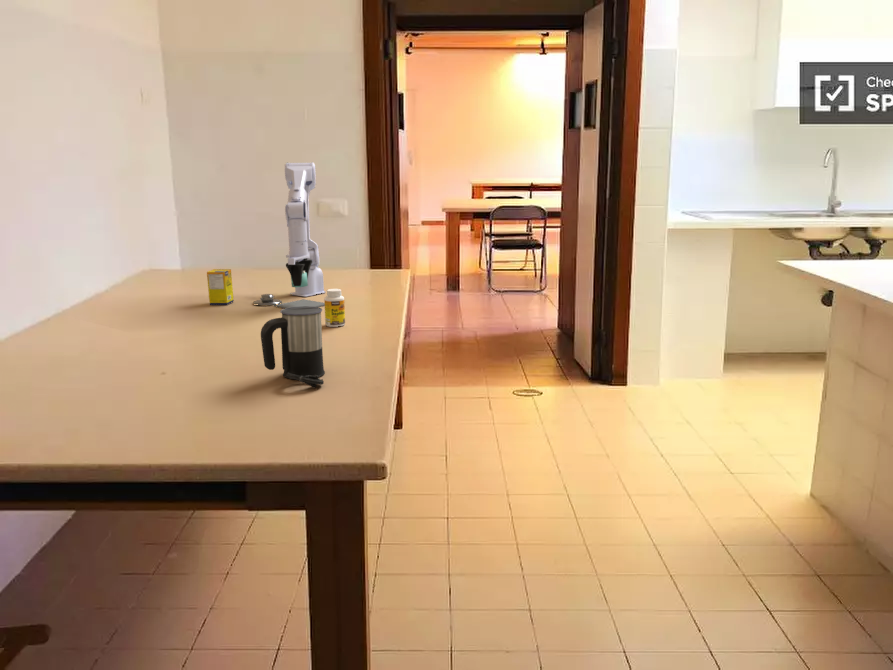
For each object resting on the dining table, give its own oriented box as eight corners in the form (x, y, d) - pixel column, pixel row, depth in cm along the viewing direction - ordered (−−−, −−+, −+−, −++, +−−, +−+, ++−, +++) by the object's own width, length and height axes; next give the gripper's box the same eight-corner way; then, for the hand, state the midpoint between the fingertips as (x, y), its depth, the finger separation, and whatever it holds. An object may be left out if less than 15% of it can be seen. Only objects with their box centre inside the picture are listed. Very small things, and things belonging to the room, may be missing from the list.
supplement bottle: (330, 328, 221) (329, 292, 219) (322, 325, 226) (320, 289, 224) (348, 325, 224) (347, 290, 222) (340, 322, 229) (338, 287, 227)
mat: (303, 300, 261) (303, 299, 261) (328, 305, 254) (328, 303, 253) (274, 306, 252) (274, 305, 252) (299, 311, 245) (299, 309, 244)
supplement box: (234, 301, 261) (231, 268, 258) (227, 305, 255) (224, 271, 252) (216, 301, 261) (213, 268, 259) (209, 305, 255) (206, 271, 253)
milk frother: (307, 366, 184) (303, 303, 181) (354, 378, 174) (352, 312, 171) (256, 381, 174) (252, 314, 170) (304, 394, 164) (300, 324, 160)
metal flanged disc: (269, 299, 263) (269, 291, 263) (287, 302, 258) (287, 294, 257) (247, 304, 257) (246, 295, 256) (265, 307, 251) (264, 298, 250)
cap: (310, 284, 253) (308, 269, 252) (304, 287, 248) (303, 272, 247) (295, 284, 254) (293, 270, 253) (289, 287, 249) (287, 272, 248)
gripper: (293, 238, 256) (296, 280, 259) (277, 243, 242) (280, 288, 245) (315, 238, 254) (317, 280, 258) (299, 244, 241) (301, 288, 244)
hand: (300, 284), depth 251 cm, fingers closed on cap, 5 cm apart
